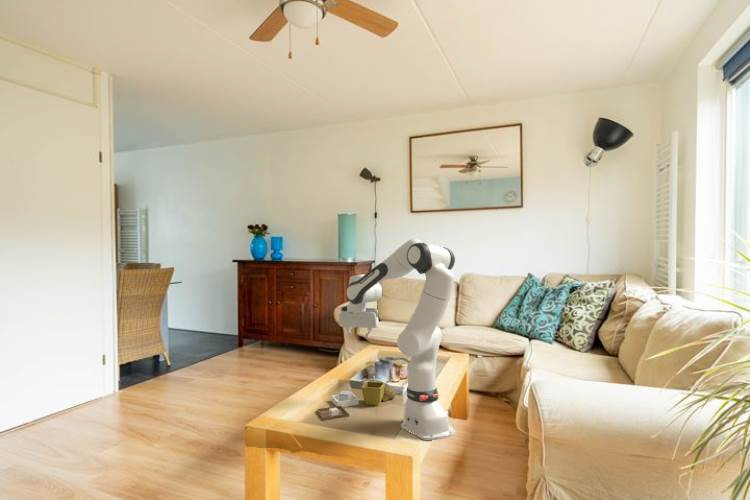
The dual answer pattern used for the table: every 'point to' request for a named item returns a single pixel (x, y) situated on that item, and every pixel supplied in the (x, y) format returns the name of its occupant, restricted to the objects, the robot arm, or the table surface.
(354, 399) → the grey bin
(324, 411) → the gravel tray
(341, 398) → the pebble
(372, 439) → the table surface
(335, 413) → the small pebble
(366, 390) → the flower pot
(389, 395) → the seashell
